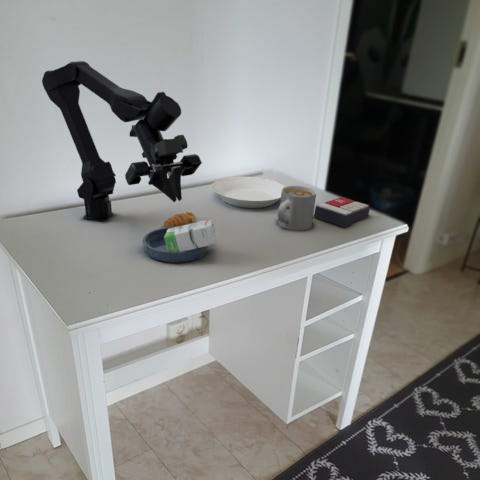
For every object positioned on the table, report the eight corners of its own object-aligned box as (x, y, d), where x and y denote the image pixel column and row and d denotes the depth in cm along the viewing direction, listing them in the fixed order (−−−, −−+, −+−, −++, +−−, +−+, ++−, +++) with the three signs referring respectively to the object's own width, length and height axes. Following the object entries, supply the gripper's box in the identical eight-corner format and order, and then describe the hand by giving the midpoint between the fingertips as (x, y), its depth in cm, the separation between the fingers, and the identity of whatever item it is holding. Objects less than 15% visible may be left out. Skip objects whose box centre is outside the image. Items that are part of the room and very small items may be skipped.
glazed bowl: (134, 259, 120) (133, 247, 119) (156, 234, 134) (155, 223, 132) (198, 267, 118) (198, 256, 117) (213, 241, 132) (214, 231, 130)
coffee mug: (295, 215, 152) (299, 183, 147) (318, 226, 146) (323, 193, 140) (262, 223, 145) (265, 190, 139) (285, 235, 138) (289, 201, 133)
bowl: (277, 216, 150) (278, 205, 148) (200, 204, 155) (200, 193, 153) (292, 192, 171) (294, 182, 169) (224, 182, 176) (224, 172, 174)
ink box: (168, 255, 119) (216, 245, 118) (163, 236, 117) (210, 225, 116) (173, 246, 127) (217, 236, 126) (167, 228, 125) (212, 217, 124)
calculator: (371, 204, 153) (346, 213, 143) (368, 218, 156) (343, 227, 145) (341, 195, 159) (315, 203, 149) (338, 208, 161) (313, 217, 151)
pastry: (171, 235, 134) (170, 221, 132) (158, 227, 138) (157, 214, 136) (199, 228, 139) (199, 215, 137) (186, 220, 144) (186, 208, 142)
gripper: (127, 126, 107) (155, 190, 106) (197, 119, 117) (223, 177, 116) (113, 154, 116) (139, 213, 115) (180, 146, 127) (204, 200, 126)
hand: (177, 200), depth 118 cm, fingers closed
